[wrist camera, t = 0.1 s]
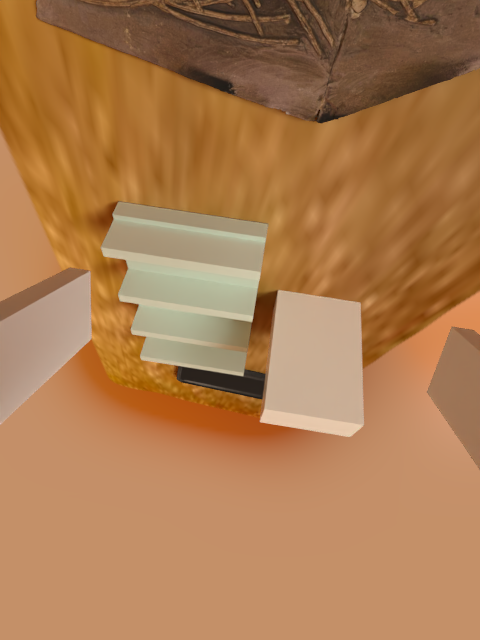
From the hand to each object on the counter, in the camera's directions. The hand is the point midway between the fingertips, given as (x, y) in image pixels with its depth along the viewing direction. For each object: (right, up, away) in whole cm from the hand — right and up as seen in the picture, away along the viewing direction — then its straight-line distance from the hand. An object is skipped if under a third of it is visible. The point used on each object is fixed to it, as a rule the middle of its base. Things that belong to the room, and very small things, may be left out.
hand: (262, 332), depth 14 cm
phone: (-2, -8, +43) cm, 43 cm away
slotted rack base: (-5, +4, +25) cm, 25 cm away
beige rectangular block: (+7, +2, +24) cm, 25 cm away
